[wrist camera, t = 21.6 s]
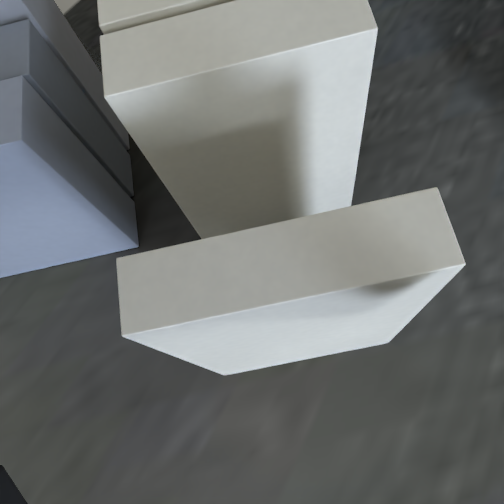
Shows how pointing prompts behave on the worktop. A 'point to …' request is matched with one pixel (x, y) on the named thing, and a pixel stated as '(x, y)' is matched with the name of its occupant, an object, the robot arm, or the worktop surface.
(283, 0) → the white books
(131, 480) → the worktop surface
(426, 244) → the thin white book
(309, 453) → the worktop surface
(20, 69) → the grey books
